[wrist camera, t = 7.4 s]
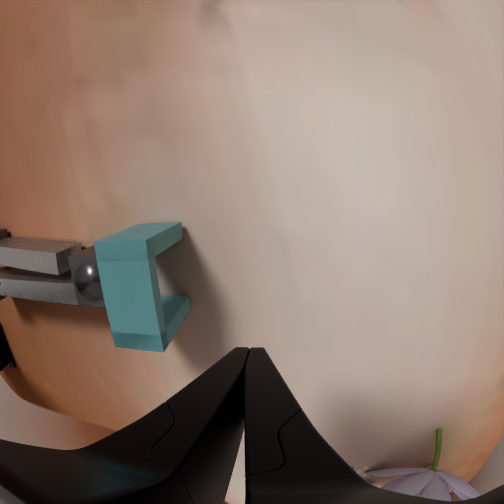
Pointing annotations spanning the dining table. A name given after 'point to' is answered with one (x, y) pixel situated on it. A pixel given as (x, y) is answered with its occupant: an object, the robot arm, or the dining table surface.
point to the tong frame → (57, 282)
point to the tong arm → (36, 254)
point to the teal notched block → (139, 286)
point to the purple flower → (427, 480)
